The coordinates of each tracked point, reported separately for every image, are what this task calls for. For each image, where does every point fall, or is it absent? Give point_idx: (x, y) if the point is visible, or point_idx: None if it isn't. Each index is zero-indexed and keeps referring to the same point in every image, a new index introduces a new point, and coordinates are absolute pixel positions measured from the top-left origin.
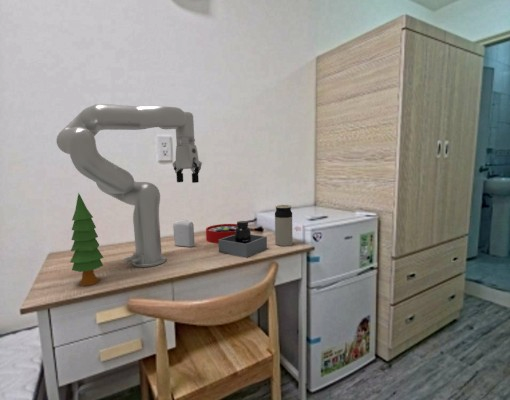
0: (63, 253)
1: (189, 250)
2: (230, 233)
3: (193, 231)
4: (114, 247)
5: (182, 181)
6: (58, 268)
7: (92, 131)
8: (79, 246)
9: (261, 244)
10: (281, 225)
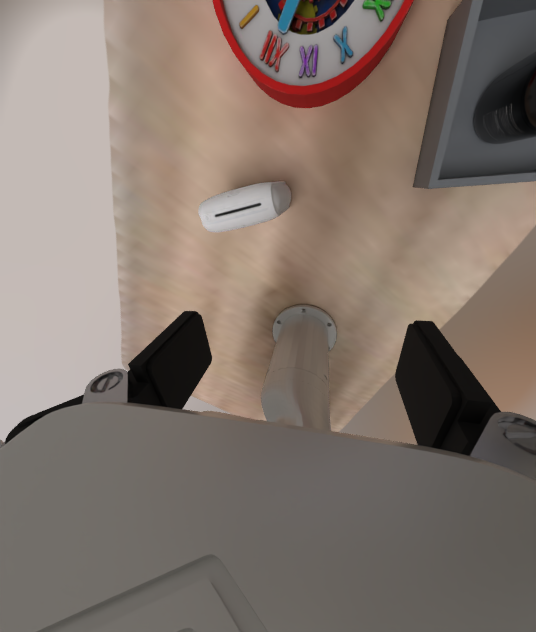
0: None
1: (312, 229)
2: (402, 20)
3: (277, 184)
4: (153, 307)
5: (201, 322)
6: (216, 396)
7: None
8: None
9: None
10: None
